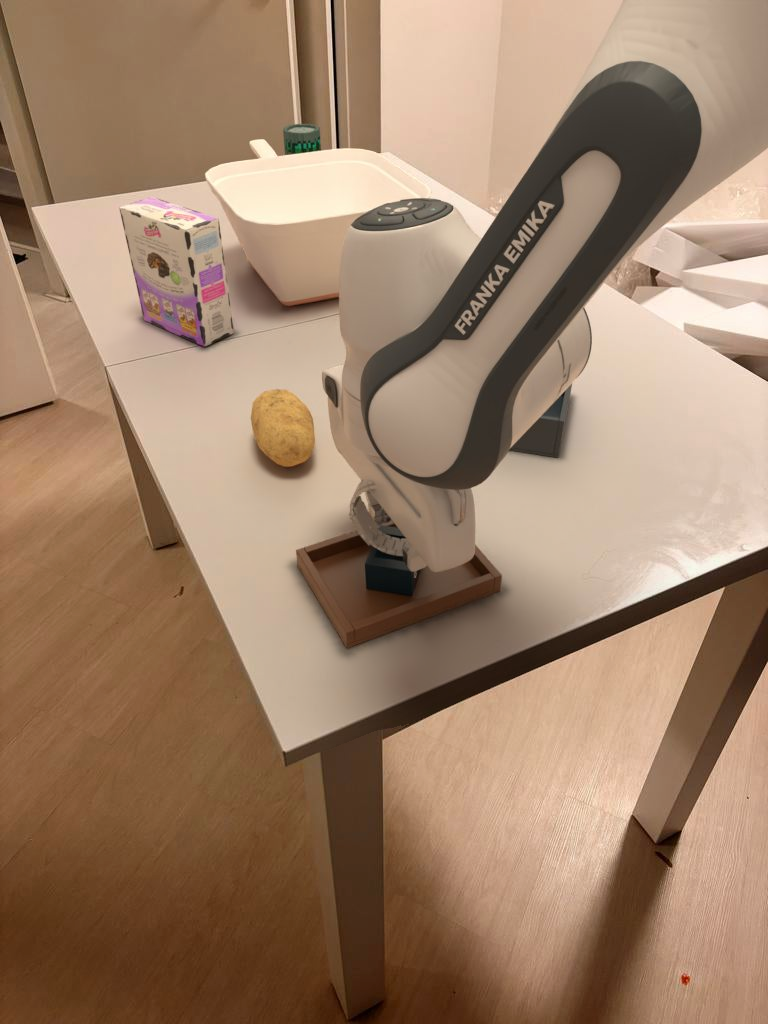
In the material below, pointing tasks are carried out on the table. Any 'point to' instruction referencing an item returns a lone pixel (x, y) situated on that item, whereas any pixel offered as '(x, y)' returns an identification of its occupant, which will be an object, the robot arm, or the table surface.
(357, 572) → the tray
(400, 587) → the watch
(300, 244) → the pot
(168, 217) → the candy box
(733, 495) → the table surface
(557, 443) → the bin
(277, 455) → the potato
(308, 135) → the can
